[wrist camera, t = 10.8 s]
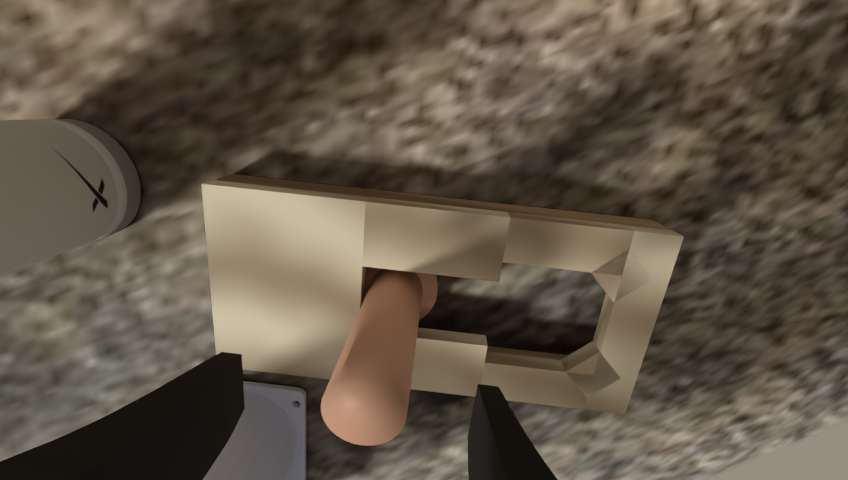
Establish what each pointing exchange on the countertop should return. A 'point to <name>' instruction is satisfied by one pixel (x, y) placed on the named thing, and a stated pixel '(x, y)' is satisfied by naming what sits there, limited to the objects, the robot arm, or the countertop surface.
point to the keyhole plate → (431, 254)
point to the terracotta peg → (379, 358)
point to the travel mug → (60, 188)
